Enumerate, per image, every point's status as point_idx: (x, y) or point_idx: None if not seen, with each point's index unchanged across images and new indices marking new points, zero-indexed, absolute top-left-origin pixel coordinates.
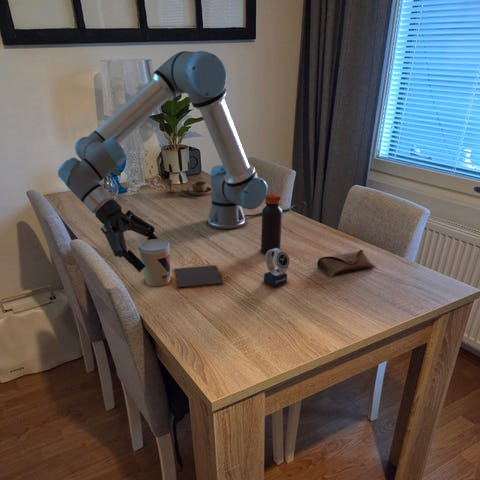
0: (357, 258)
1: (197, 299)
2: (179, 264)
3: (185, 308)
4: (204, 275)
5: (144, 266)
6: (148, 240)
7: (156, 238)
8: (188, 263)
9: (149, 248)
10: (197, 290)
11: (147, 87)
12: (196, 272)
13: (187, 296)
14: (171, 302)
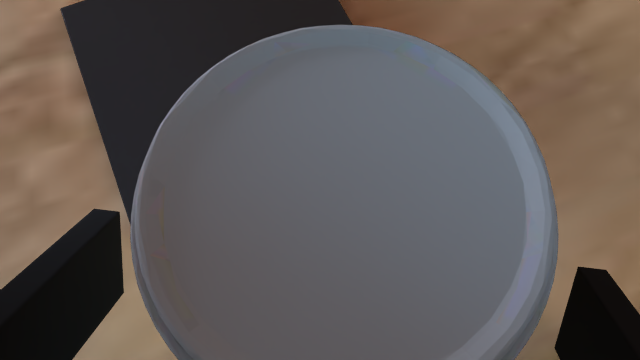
0: None
1: (503, 2)
2: (30, 240)
3: (620, 30)
4: (217, 27)
5: (597, 271)
6: (201, 333)
7: (10, 299)
8: (11, 182)
9: (479, 209)
10: (402, 27)
11: None
12: (180, 80)
13: (489, 56)
14: (592, 116)
